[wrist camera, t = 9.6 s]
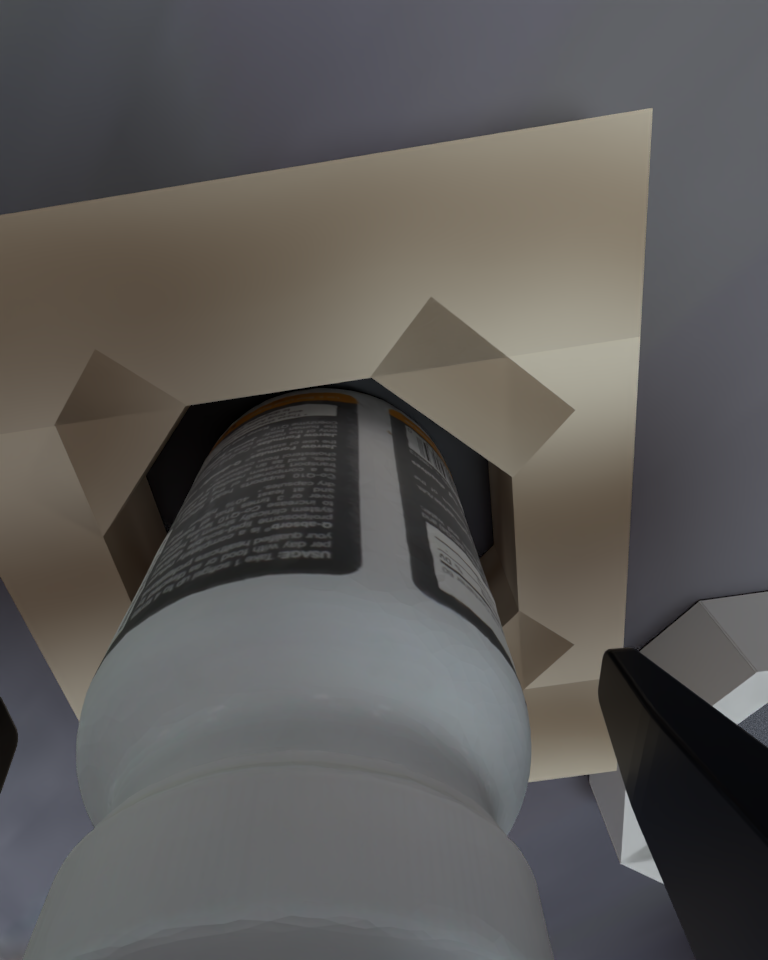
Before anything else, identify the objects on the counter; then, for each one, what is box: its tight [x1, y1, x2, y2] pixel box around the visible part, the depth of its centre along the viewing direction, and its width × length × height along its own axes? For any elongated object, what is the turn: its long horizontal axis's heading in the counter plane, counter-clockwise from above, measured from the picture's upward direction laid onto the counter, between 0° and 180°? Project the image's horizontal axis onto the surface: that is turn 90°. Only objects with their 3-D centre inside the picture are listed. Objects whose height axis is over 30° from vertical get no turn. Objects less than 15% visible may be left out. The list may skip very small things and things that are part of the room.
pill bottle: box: [22, 388, 554, 960], centre depth 9 cm, size 6×6×10 cm
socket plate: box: [0, 108, 653, 782], centre depth 13 cm, size 14×12×2 cm
